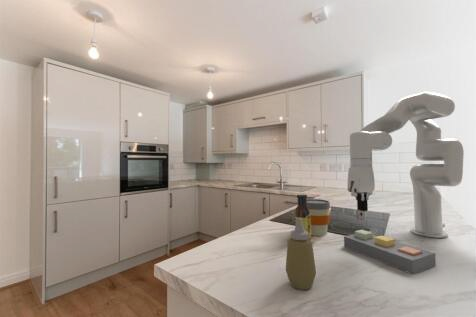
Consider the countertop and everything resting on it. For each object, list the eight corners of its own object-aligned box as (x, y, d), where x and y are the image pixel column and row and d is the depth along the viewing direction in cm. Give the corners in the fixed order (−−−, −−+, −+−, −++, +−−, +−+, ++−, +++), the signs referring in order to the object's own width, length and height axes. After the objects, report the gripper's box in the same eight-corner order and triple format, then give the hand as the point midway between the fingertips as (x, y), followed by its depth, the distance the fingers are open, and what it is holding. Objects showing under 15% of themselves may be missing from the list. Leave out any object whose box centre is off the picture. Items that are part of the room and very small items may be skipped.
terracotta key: (406, 252, 74) (406, 246, 74) (421, 257, 70) (421, 250, 70) (398, 255, 72) (398, 248, 72) (413, 260, 68) (413, 253, 68)
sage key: (362, 235, 88) (362, 229, 88) (372, 238, 84) (372, 232, 84) (354, 236, 86) (354, 231, 86) (365, 240, 82) (364, 234, 82)
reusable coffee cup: (333, 231, 106) (332, 200, 106) (328, 239, 95) (327, 204, 96) (306, 227, 113) (306, 198, 113) (299, 234, 102) (298, 202, 103)
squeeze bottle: (282, 277, 64) (280, 215, 64) (309, 276, 65) (307, 214, 65) (291, 294, 56) (289, 223, 56) (321, 291, 57) (319, 221, 57)
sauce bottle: (312, 244, 90) (310, 195, 90) (296, 243, 91) (295, 195, 91) (310, 238, 96) (308, 193, 96) (295, 238, 97) (294, 193, 98)
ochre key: (382, 241, 81) (382, 235, 81) (395, 245, 77) (394, 239, 77) (374, 243, 79) (374, 237, 79) (386, 247, 75) (386, 241, 75)
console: (365, 241, 91) (364, 232, 91) (435, 265, 69) (435, 253, 69) (344, 246, 86) (343, 236, 87) (413, 274, 64) (412, 260, 65)
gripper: (365, 163, 92) (366, 207, 92) (339, 163, 86) (340, 210, 86) (383, 163, 86) (384, 210, 85) (356, 163, 80) (357, 214, 79)
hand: (362, 210), depth 85 cm, fingers closed
